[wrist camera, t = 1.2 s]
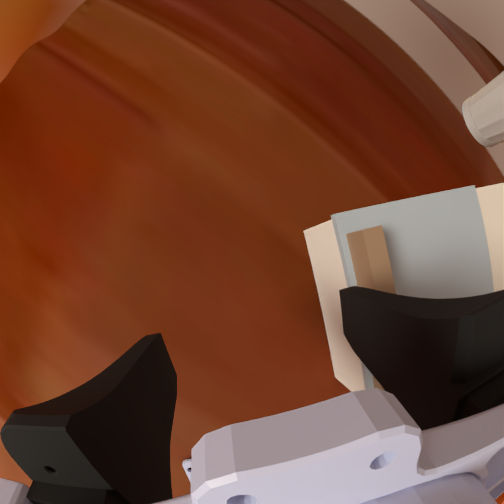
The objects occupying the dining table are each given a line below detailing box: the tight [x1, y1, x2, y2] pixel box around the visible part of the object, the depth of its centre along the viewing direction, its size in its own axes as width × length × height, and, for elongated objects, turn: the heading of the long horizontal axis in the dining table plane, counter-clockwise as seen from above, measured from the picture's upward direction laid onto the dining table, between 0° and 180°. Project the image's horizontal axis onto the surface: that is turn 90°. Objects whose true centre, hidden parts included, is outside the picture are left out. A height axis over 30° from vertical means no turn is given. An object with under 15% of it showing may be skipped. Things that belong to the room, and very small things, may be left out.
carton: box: [304, 183, 504, 392], centre depth 21 cm, size 12×19×6 cm, turn 104°
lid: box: [331, 185, 494, 391], centre depth 17 cm, size 12×12×2 cm
